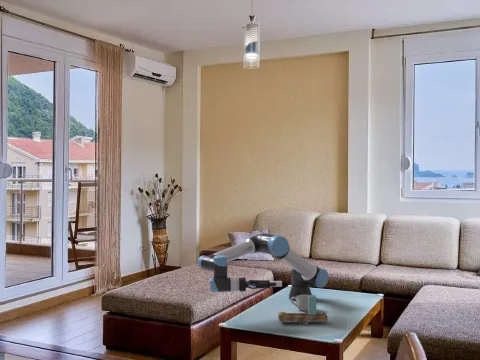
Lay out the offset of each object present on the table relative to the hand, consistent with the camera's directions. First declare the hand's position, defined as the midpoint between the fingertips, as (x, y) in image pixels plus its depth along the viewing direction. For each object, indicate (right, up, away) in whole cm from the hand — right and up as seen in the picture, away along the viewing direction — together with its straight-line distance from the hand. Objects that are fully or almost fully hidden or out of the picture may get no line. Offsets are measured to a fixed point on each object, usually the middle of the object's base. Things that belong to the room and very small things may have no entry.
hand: (281, 283), depth 287 cm
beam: (+12, -22, +1) cm, 24 cm away
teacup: (+15, -21, +28) cm, 38 cm away
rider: (+17, -18, +1) cm, 25 cm away
